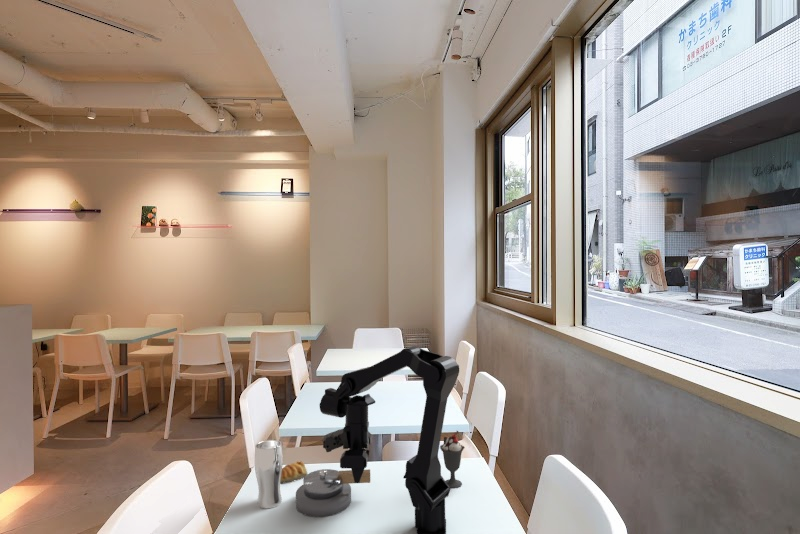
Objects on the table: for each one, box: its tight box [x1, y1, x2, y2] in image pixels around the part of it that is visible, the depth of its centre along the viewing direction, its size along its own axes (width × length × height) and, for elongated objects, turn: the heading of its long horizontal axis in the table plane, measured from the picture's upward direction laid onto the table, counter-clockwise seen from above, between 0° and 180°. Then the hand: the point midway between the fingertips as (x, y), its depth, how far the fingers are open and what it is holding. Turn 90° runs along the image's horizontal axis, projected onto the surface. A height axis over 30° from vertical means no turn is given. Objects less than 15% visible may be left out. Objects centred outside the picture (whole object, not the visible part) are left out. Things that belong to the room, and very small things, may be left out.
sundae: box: [439, 430, 465, 489], centre depth 128 cm, size 7×7×15 cm
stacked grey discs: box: [295, 484, 352, 518], centre depth 120 cm, size 14×14×3 cm
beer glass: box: [254, 439, 284, 510], centre depth 120 cm, size 7×7×15 cm
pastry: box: [280, 460, 308, 484], centre depth 134 cm, size 9×7×4 cm
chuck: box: [302, 468, 371, 499], centre depth 120 cm, size 17×10×5 cm, turn 93°
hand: (356, 482), depth 118 cm, fingers closed
